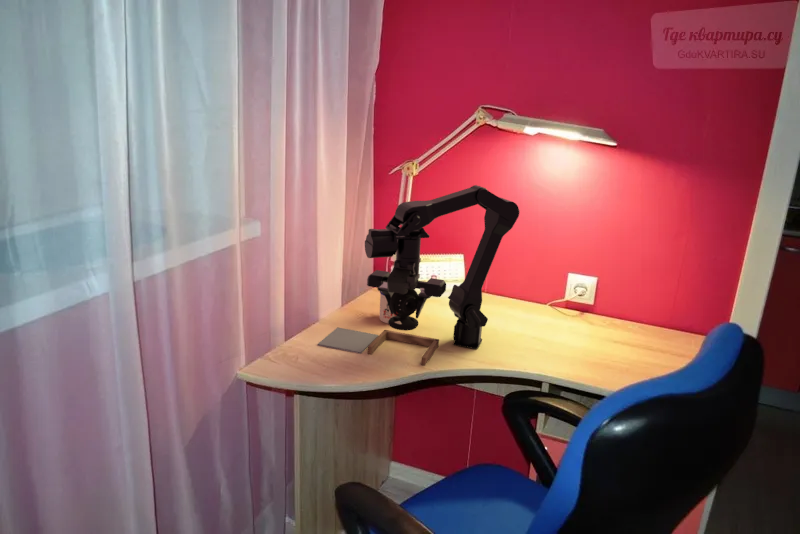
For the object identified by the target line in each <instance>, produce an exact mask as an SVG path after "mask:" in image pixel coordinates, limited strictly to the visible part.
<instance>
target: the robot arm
mask: <svg viewBox="0 0 800 534" xmlns="http://www.w3.org/2000/svg"><path fill="white" fill-rule="evenodd" d="M477 205H478V206H479V207H481V208H482V209H484V210H485V214H484V218H483V219H484V220H483V221H484V230H483V234H482V236H481V238H480V240H479V243H478V246H477V248H476V251H475V254H474V256H473V258H472V261H471V263H470V266H469V268H468V270H467V274H466V276H465V278H464V280H463V281H462V282H461V283H460V284H459V285H457V284H454V285H453V286H452V289H451V293H449V296H448V297H447V299H449V300H448V306H449V309H450V310H451V312H453V314H454V317H455V318H457V320H456V323H455V324H454V326H453V327H454V328H453V337H452V338H453V344H452V345H453V346H458V347H461V348H462V347H463V348H469V349H473V350H477V349H478V348H479V347H480V345H481V344H482V342H483V338H482V333H483V332H482V330H483V327H486V325H487V322H488V321H489V319H488V317H487V316H486V315H485V314H484V313H483V312H482V311H481V307H482V303H483V286H484V284H485V282H486V279H487V277H488V275H489V271H490V268H491V266H492V264H493V262H494V260H495V256H496V254H497V251H498V249H499V246H500V244H501V242H502V239H503V237H504V236H506V234H507V233H509V231H511V230H512V229H513V227H514V226H515V223H516V222H517V220H518V219H519V216H520V211H521V210H520V208H519V206H518V205H517V203H515V202H514V201H512V200H509V199H505V198H503V197H500V196H497V195H496V194H494V193H493V192H491V191H489V190H488V189H487V188H486V187H483V186H481V185H477V184H475V185H474V184H473V185H471V186H470V187H468V188H465V189H462V190H458V191H455V192H452V193H449V194H445V195H443V196H439V197H437V198H436V197H435V198H433V199H430V200H429V199H428V200H411V201H404V202H401V203H399V205H398V206H397V207H396V209H395V212H394V215H393V216H392V218H391V219H390V221H388V223H387V225H386V226H385V228H381V229H380V228H379V229H377V228H369V229H368V234H366V236H365V240H364V251H365V254H366V257H367V258H368V259H377V258H378V259H380V258H392V257H393V256H394V255H395V260H394V263H393V268H392V270H391V272H390V271H386V270H379V269H376V270H375V271H373V272H372V273H370V274H369V275H367V278H366V285H367V287H370V288H371V287H372V288H376V289H377V291H378V292H380V291H381V292H382V293H383V294H384V295H385V297H386V300H387V302H388V305H389V309H390V312H391V314H394V313H393V312H392V310H391V308H390V300H391V297H392V295H393V293H394V292H395V293H400V294H406V293H407V292H408V289H409V290H410V289H414V290H416V289H419V290H420V292H419V293H417V294H418V295H417V298H418V302H417V308H416V311H415V319H418V318H419V317H420V315H421V313H422V311H423V309H424V305H425V304H426V301H427V300H428V299H430V298H431V297H432V298H433V297H434V298H440V297H441V296H443V294H444V293H445V292H446V290H447V283H446V281H445V280H444V279H438V278H433V277H431V278H429V279H428V280H427V281H425V280H424V281H423V280H419V279H420V277H421V276H420V275H421V274H420V263H421V260H422V257H420V256H421V244H422V242H421V241H422V240H421V239H428V238H431V237H430V234H428V232H426V230H425V227H426V226H428V225H430V224H431V223H433V222H434V220H436V219H438V218H439V217H442V216H447V215H448V214H452V213H455V212H458V211H462V210H464V209H467V208H470V207H473V206H477Z"/></svg>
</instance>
